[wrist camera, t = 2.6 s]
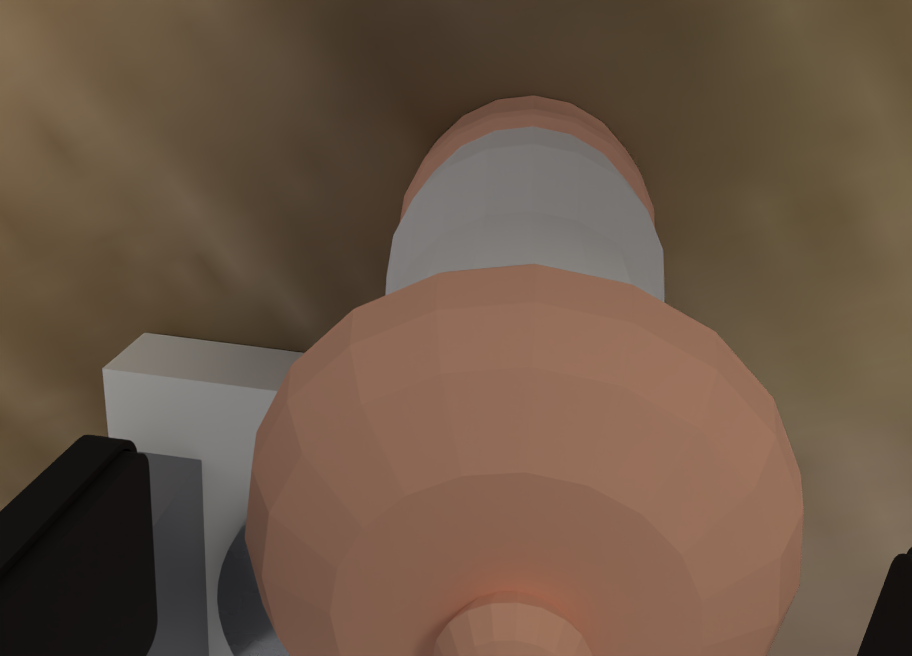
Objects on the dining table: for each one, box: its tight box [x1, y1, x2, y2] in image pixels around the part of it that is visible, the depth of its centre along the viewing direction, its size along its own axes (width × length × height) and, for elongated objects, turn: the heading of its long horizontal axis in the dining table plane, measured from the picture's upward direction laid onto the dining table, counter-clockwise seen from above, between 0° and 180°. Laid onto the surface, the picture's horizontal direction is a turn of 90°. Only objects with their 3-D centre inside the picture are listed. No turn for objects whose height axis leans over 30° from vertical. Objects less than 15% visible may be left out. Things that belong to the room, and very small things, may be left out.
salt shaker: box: [245, 95, 803, 656], centre depth 16 cm, size 7×7×19 cm
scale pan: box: [217, 518, 290, 656], centre depth 28 cm, size 12×12×1 cm
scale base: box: [102, 333, 304, 656], centre depth 27 cm, size 16×16×8 cm
